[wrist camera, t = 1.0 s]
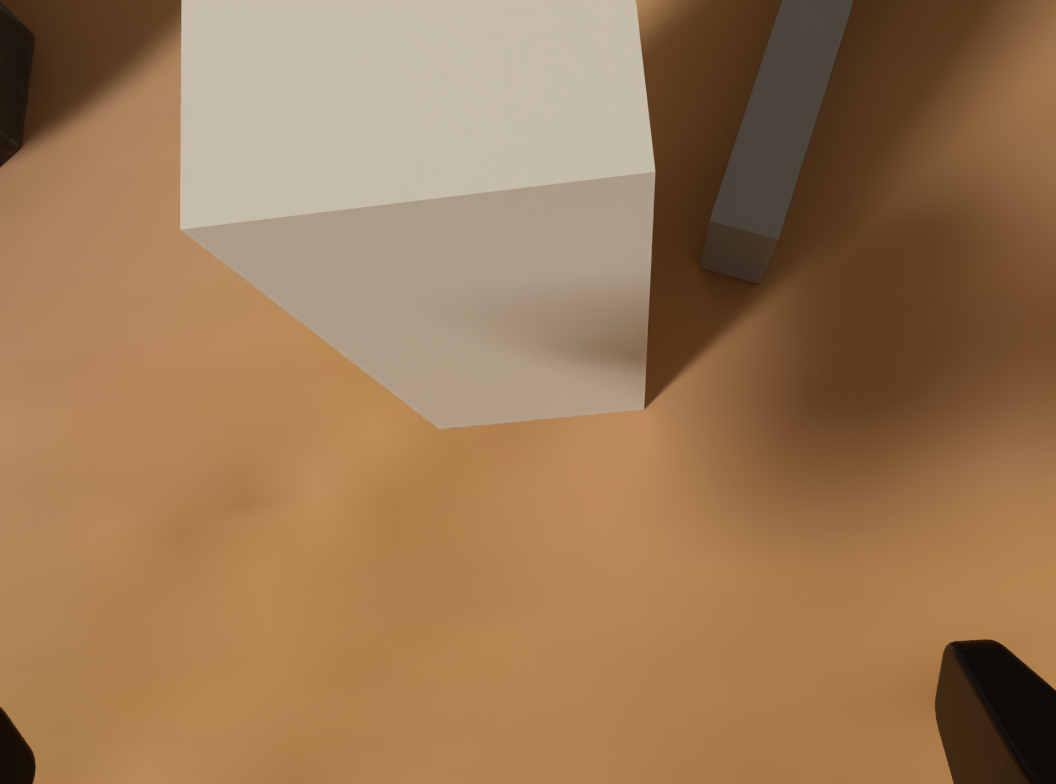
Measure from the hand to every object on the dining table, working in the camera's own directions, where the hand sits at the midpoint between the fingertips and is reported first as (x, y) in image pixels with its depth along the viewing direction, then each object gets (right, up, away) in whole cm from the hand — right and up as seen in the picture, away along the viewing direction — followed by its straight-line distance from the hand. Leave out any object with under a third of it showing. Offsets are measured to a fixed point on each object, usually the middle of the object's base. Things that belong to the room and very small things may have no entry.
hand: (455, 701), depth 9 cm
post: (+1, +5, +14) cm, 15 cm away
